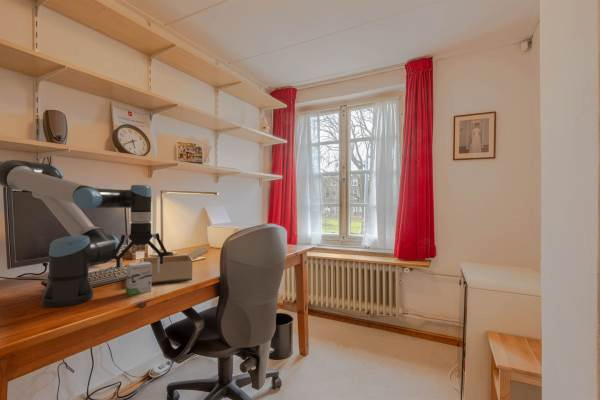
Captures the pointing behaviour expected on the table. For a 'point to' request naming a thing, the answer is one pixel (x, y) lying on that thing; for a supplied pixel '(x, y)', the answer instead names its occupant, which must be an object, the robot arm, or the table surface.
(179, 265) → the carton
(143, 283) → the ink box
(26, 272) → the table surface
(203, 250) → the flap
